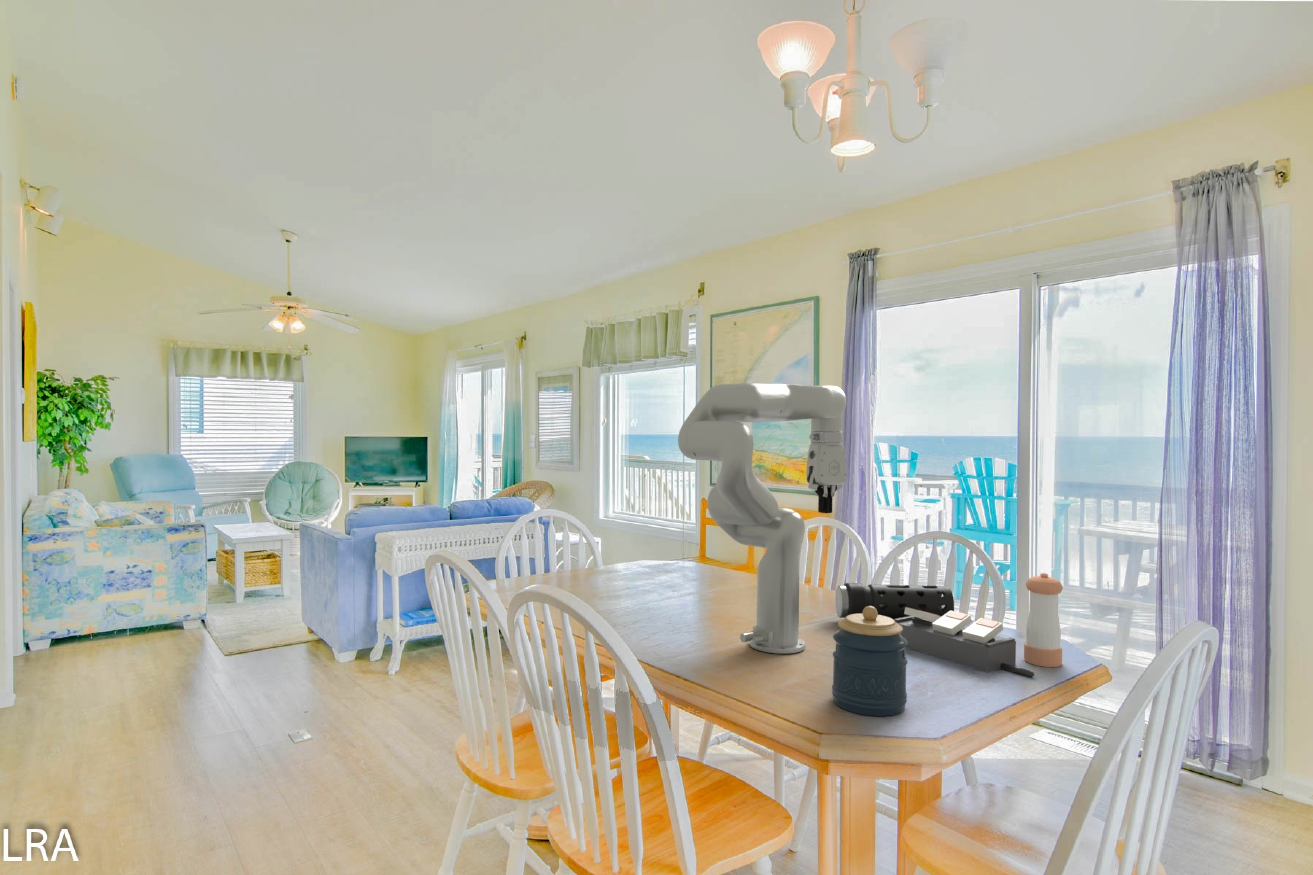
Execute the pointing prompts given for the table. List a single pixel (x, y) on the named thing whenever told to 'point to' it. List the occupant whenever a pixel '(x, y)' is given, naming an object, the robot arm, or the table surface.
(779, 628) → the robot arm
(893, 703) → the canister
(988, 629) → the rocker
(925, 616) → the bar
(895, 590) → the muzzle brake
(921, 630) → the strip
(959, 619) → the rocker
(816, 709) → the table surface
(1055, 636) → the pepper shaker
